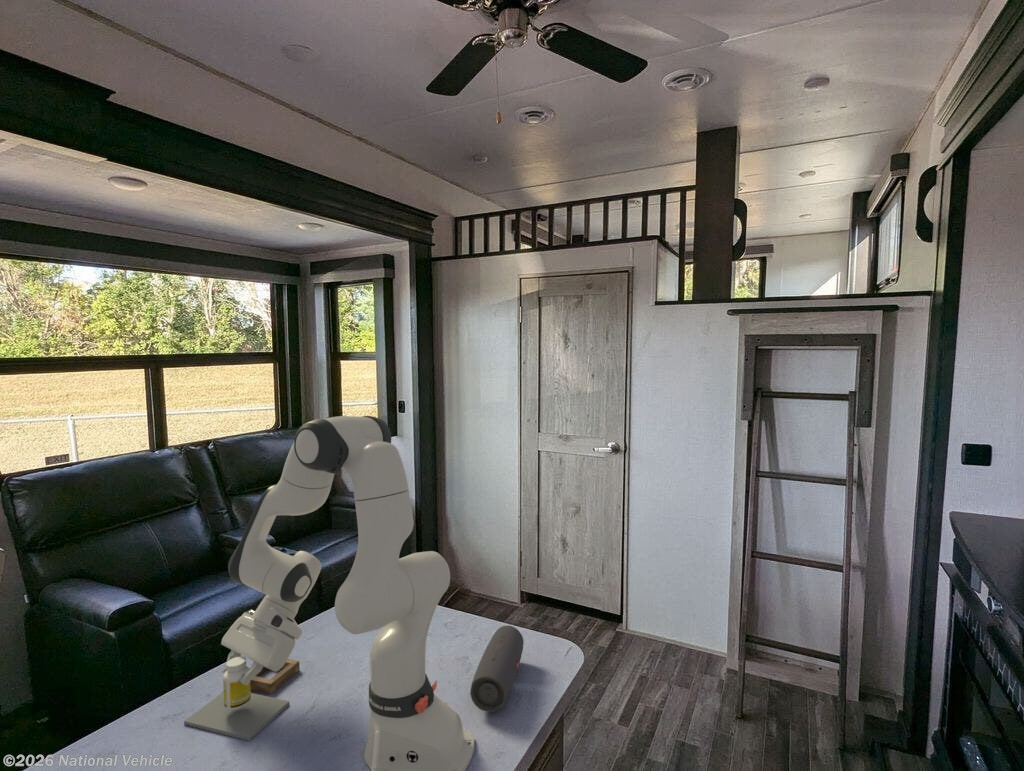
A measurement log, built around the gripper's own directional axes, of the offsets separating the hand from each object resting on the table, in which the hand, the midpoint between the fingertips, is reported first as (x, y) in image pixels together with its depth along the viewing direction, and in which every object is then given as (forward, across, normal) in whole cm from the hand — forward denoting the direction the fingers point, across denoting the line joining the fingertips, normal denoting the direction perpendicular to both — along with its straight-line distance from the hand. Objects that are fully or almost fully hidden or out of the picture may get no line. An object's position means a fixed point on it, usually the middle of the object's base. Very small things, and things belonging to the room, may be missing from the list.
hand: (234, 679), depth 116 cm
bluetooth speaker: (-22, +46, +34) cm, 61 cm away
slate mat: (+6, 0, +6) cm, 9 cm away
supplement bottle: (+4, 0, +5) cm, 6 cm away
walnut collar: (-3, -6, +15) cm, 16 cm away
